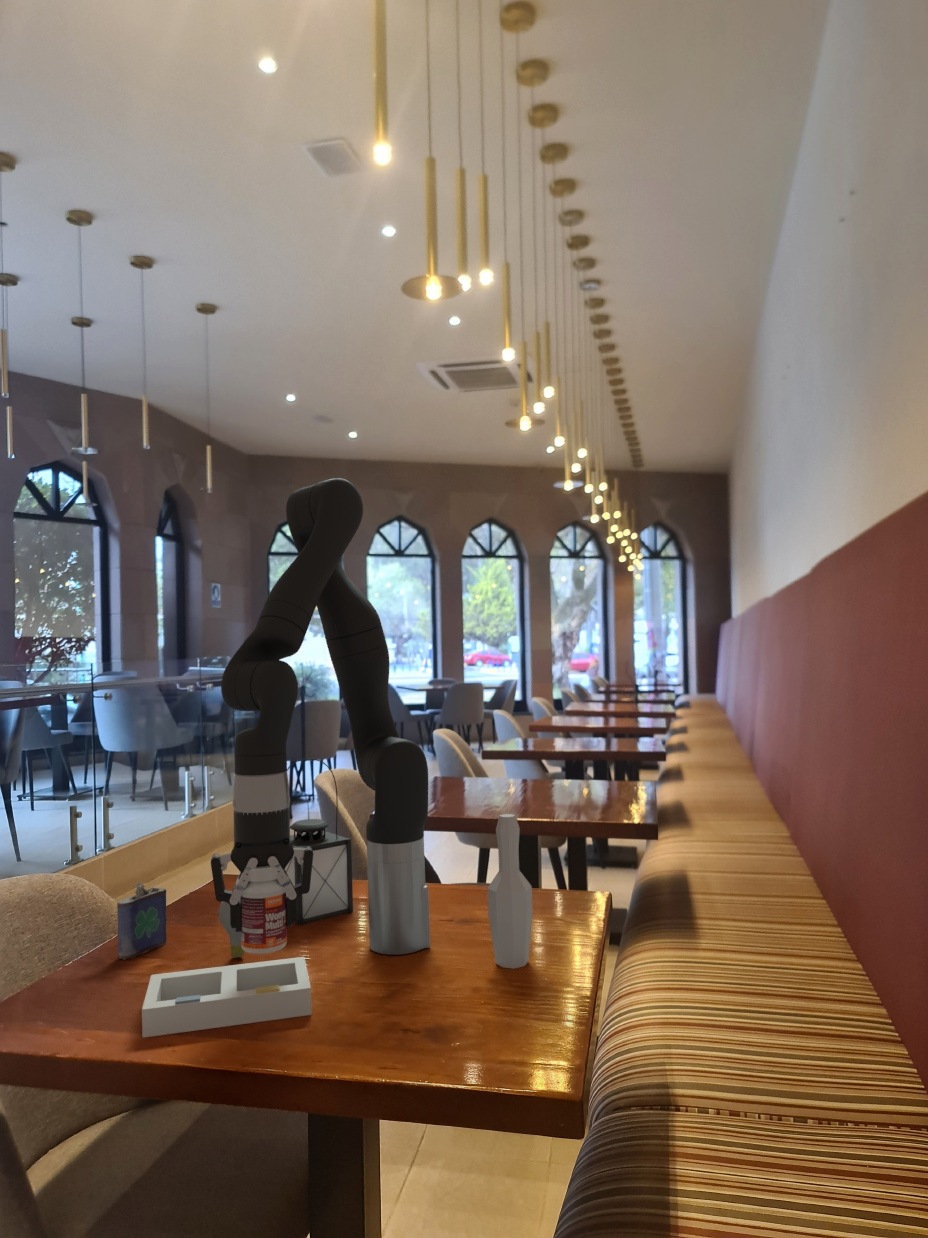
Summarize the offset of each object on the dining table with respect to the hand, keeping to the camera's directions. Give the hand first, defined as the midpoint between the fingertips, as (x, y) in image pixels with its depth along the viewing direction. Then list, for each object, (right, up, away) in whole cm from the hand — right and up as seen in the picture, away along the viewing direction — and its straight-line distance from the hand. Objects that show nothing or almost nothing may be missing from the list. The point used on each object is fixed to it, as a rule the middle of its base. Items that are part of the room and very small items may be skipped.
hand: (263, 927), depth 120 cm
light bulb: (-8, -11, +17) cm, 22 cm away
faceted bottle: (+35, -10, +11) cm, 38 cm away
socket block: (-4, -10, -2) cm, 11 cm away
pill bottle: (0, -3, 0) cm, 3 cm away
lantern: (0, -11, +40) cm, 41 cm away
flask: (-25, -12, +22) cm, 35 cm away
